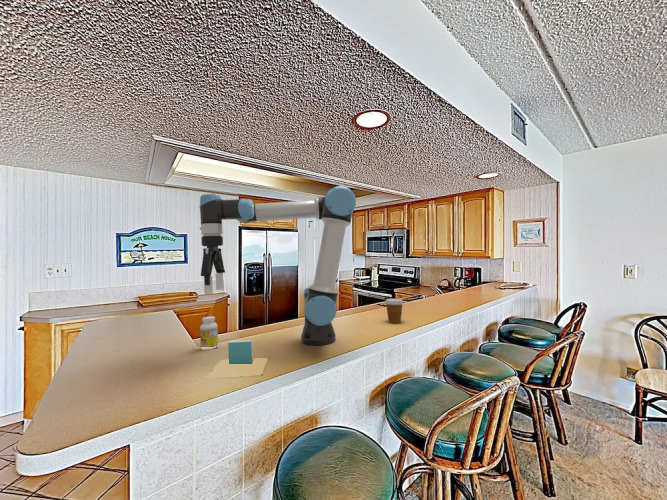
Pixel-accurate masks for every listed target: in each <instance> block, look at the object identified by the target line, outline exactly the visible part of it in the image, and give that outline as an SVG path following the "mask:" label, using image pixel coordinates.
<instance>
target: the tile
mask: <svg viewBox="0 0 667 500" xmlns="http://www.w3.org/2000/svg"><path fill="white" fill-rule="evenodd" d="M227 348H228V349H227V351H228V354H227V355H228V358H227V359H229V364H252V363H253V358H254V354H253V352H254V349H253V348H254V346H253V339H246V340H229V341H227Z"/></svg>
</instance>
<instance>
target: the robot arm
mask: <svg viewBox="0 0 667 500" xmlns="http://www.w3.org/2000/svg"><path fill="white" fill-rule="evenodd" d="M356 206H357V199H356V194H354V192H353V190H351V189H350V188H348V187H347V186H344V185H338V186H335V187H332V188H330V189H329V190H328V191H327V193H326V194H325V196H319V197H318V196H317V197H315V199H313V200H310V199H309V200H293V201H292V200H291V201H281V202H280V201H278V202H277V201H276V202H266V203H265V202H264V203H254V202H253V200H252V199H249V198H247V199H246V198H240V199H239V198H238V199H222V197H221V195H220V194H216V193H204V194H202V195H200V196H199V213H200V227H199V230H200V231H201V233H200V234H201V246H202V247H204V248H203V249H202V251H203V254H202V263H201V270H200V276H201V277H203V288H204V289H203V290H204V291H203V292H204V295H205V296H206V295H213V294H214V286H213V275H212V272H213V268H214V270H215V275H214V276H215V290H217V291H219V290H224V273H226V270H225V266H224V261H223V256H222V255H223V254H222V248H219V247H221V246H224V238H223V237H224V236H222V235H223V234H224V232H223V220H236V221H238V222H239V223H241V224H249V223H254V222H265V221H266V222H267V221H268V222H269V221H284V220H298V219H299V220H300V219H311V218H313V219H316V220H319V221H320V220H322V222H323V230H322V235H321V242H320V246H319V251H318V252H319V253H318V257H317V262H316V263H317V264H316V267H315V273H314V274H315V275H314V280H313V283H312V284H311V285H309V286H308V288H305V289H304V290H303V304H304V305H303V306H304V307H303V308H304V325H303V328H302V331H301V335H300V341H302V342H303V343H302V342H301V343H302V344H304V343H305V345H308V344H309V346H325V345H329V344H332V343H335V342H336V340H337V338H336V336H337V335H336V332H335V330H334V326H333V323H332V322H333V321H334V320H335V318H336V315H337V300H338V294H339V292H338V289H337V288H336V283H337V277H338V272H339V266H340V261H341V256H342V251H343V244H344V240H345V239H344V238H345V233H346V228H347V227H349V226H350V225H351V222H352V217H353V211H354V210H355V208H356ZM205 247H206V248H205Z"/></svg>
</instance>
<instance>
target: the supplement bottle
mask: <svg viewBox="0 0 667 500" xmlns="http://www.w3.org/2000/svg"><path fill="white" fill-rule="evenodd" d="M215 321H216V316H213V315H212V316H205V317H202V324H201V325H200V326H199V327H200V328H199V336H200V337H199V338H200V340H199V342H200V348H201V347H214V346H217V345H218V346H219V336H218V334H219V331H218V329H219V328H218V323H216V322H215Z"/></svg>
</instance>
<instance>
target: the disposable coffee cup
mask: <svg viewBox="0 0 667 500" xmlns="http://www.w3.org/2000/svg"><path fill="white" fill-rule="evenodd" d="M384 303H385V304H386V305H385V306H386V312H387V320H388V323H390V324H401V322H402V321H401V320H402V310H403V304H404V301H403V299H402V298H387V299H385V302H384Z"/></svg>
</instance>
